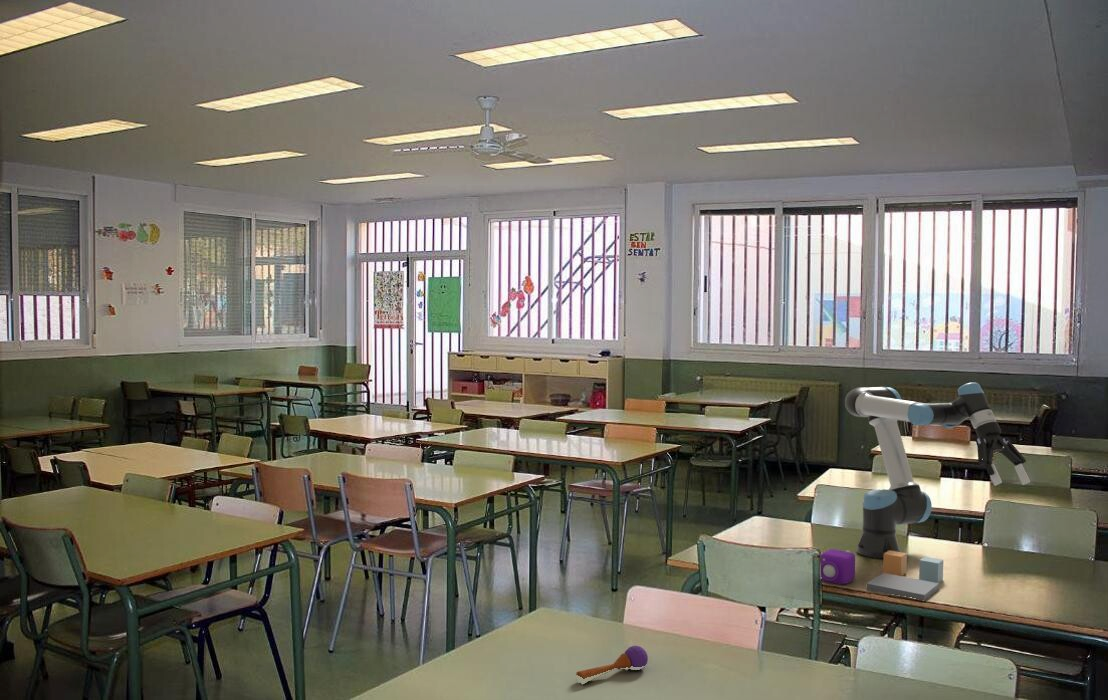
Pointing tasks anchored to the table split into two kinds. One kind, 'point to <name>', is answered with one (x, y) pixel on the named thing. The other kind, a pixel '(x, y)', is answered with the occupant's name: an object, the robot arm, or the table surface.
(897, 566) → the orange brick
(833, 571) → the toy camera
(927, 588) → the base plate
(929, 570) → the teal brick
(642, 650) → the purple and brown microphone
